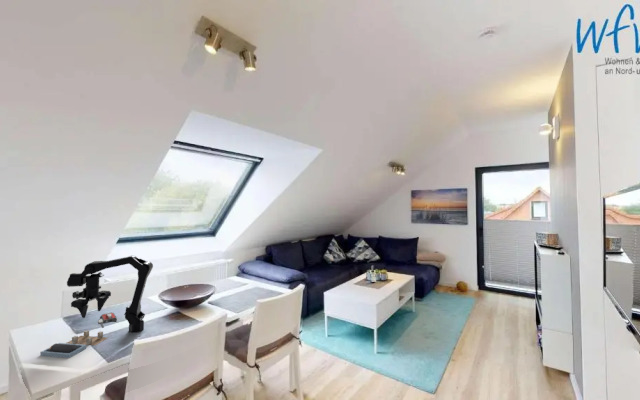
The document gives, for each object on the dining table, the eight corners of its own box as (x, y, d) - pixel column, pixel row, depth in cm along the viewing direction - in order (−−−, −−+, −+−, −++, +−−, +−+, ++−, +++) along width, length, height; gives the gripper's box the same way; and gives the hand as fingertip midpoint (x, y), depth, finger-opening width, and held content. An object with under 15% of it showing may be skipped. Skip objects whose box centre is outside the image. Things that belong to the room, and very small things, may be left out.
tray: (86, 350, 139) (86, 345, 139) (68, 360, 130) (69, 354, 130) (59, 348, 140) (59, 342, 140) (40, 358, 132) (40, 352, 132)
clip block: (108, 340, 150) (108, 332, 150) (95, 347, 142) (95, 339, 142) (80, 337, 152) (81, 330, 152) (66, 345, 144) (66, 337, 144)
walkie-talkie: (95, 320, 175) (100, 331, 161) (96, 312, 175) (101, 323, 161) (113, 316, 181) (119, 326, 167) (113, 309, 181) (119, 319, 167)
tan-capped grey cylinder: (77, 351, 137) (77, 343, 137) (69, 356, 133) (69, 347, 133) (56, 349, 138) (56, 341, 138) (47, 354, 134) (47, 346, 134)
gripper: (94, 280, 163) (93, 307, 163) (61, 289, 145) (60, 320, 145) (112, 281, 162) (111, 308, 162) (81, 291, 144) (80, 322, 144)
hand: (91, 314), depth 153 cm, fingers open, 9 cm apart
